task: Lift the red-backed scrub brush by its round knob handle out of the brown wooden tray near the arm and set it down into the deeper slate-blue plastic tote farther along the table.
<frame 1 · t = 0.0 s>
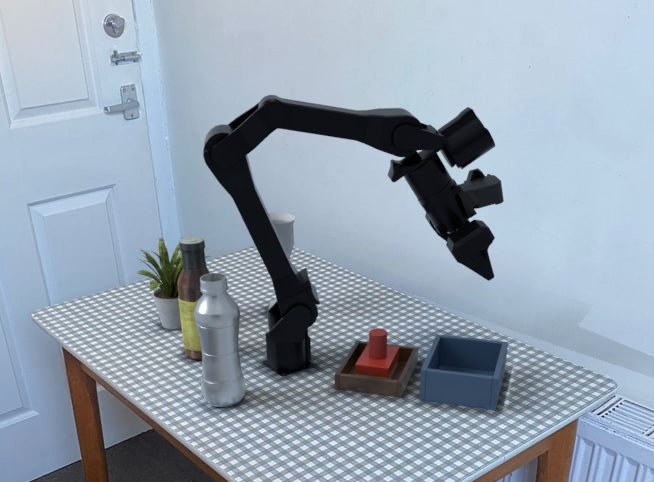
hand: (482, 268, 124), 15 cm above the table, tool tilted 35°, fingers open, 9 cm apart
brush: (377, 374, 125), resting on brown wooden tray
chalice: (280, 312, 149), on the table
house plant: (175, 327, 145), on the table
tote: (463, 388, 121), on the table
brown wooden tray: (377, 377, 125), on the table
sauce bottle: (203, 354, 135), on the table
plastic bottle: (225, 402, 120), on the table
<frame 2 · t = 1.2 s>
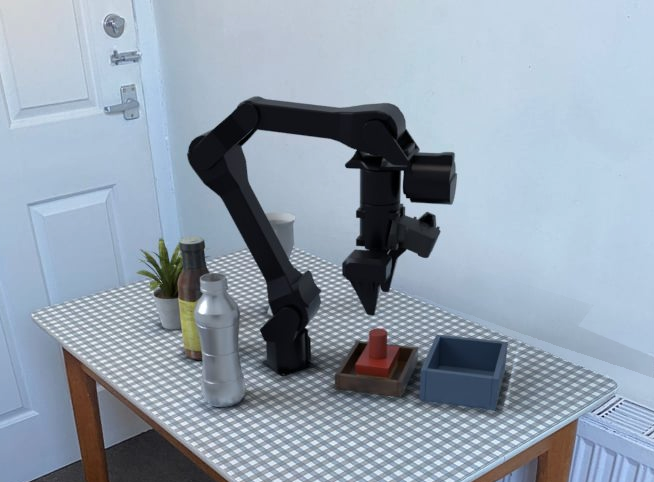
hand: (378, 303, 119), 13 cm above the table, tool pointing down, fingers open, 9 cm apart
nothing on the table moved.
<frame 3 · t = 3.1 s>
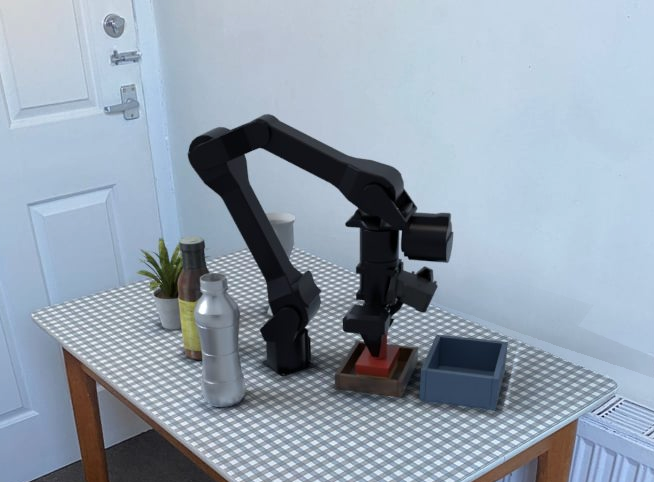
hand: (377, 352, 123), 4 cm above the table, tool pointing down, fingers closed on brush, 3 cm apart
brush: (377, 374, 125), point 1 cm above the table, touching brown wooden tray, gripper
everything else where it was.
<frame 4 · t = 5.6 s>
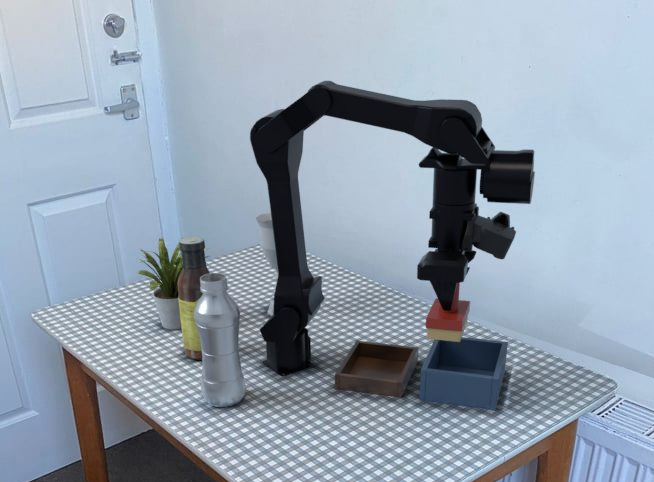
hand: (448, 306, 115), 13 cm above the table, tool pointing down, fingers closed on brush, 3 cm apart
brush: (447, 330, 117), point 9 cm above the table, touching gripper
everything else where it was.
when the fingers open (4 cm above the table, at t = 8.2 s): brush stays where it is, resting on tote.
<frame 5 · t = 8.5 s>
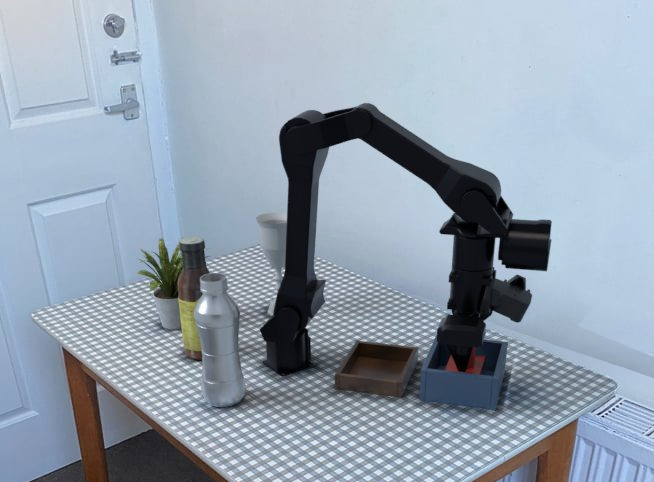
hand: (465, 363, 119), 4 cm above the table, tool pointing down, fingers open, 5 cm apart
brush: (463, 384, 121), point 1 cm above the table, touching tote
everything else where it was.
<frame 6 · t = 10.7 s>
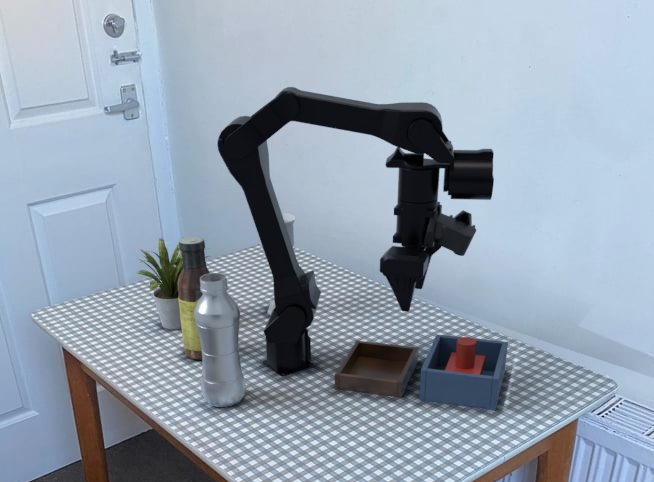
hand: (412, 299, 121), 12 cm above the table, tool pointing down, fingers open, 9 cm apart
nothing on the table moved.
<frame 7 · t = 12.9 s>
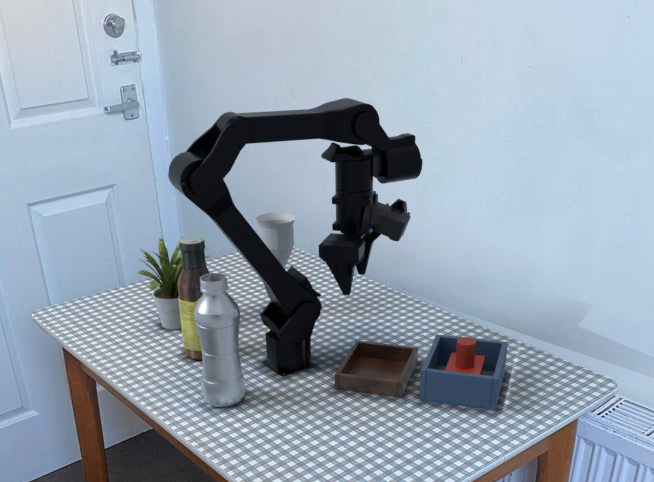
hand: (354, 284, 127), 12 cm above the table, tool pointing down, fingers open, 9 cm apart
nothing on the table moved.
at the end: brush inside the target area in the tote (0.0 cm from its centre), point 0.6 cm above the tote's base; brush tilted 0°; the gripper is holding nothing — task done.
